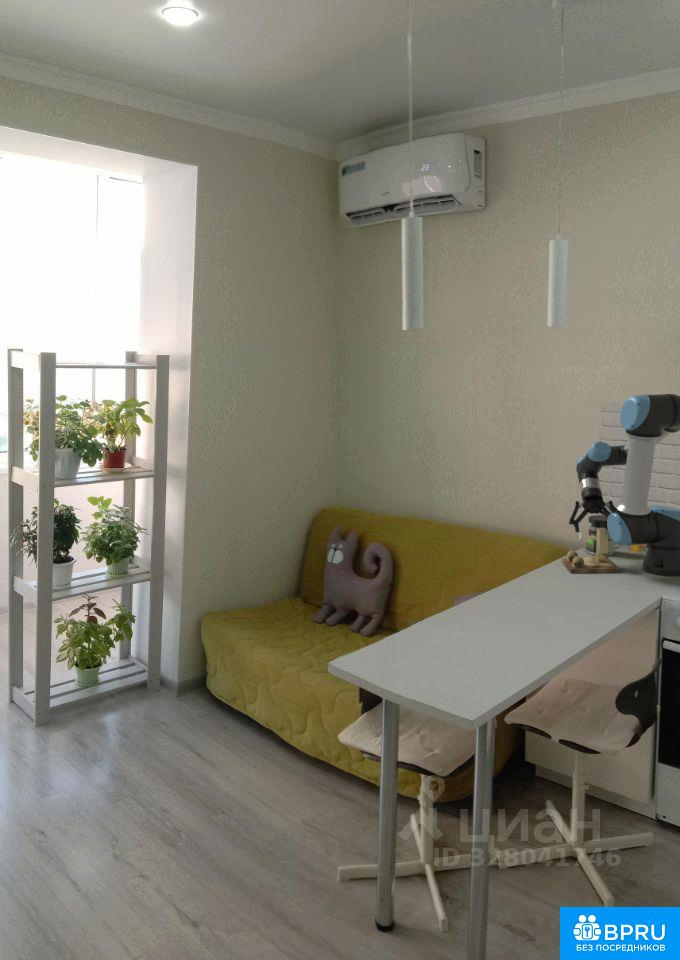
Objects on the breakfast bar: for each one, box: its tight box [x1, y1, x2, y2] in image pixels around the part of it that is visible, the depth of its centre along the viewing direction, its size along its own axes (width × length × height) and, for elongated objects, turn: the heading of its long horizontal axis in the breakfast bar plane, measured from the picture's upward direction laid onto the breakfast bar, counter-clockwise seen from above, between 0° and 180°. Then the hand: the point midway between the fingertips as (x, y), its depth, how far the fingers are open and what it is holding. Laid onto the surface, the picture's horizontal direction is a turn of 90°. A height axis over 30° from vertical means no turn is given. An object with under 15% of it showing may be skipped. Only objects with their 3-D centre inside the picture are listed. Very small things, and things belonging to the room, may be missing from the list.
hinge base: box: [561, 549, 621, 574], centre depth 301 cm, size 18×16×5 cm
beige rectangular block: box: [594, 528, 610, 563], centre depth 300 cm, size 4×5×12 cm
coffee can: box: [587, 514, 616, 556], centre depth 323 cm, size 10×10×14 cm
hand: (600, 538), depth 301 cm, fingers open, 13 cm apart
